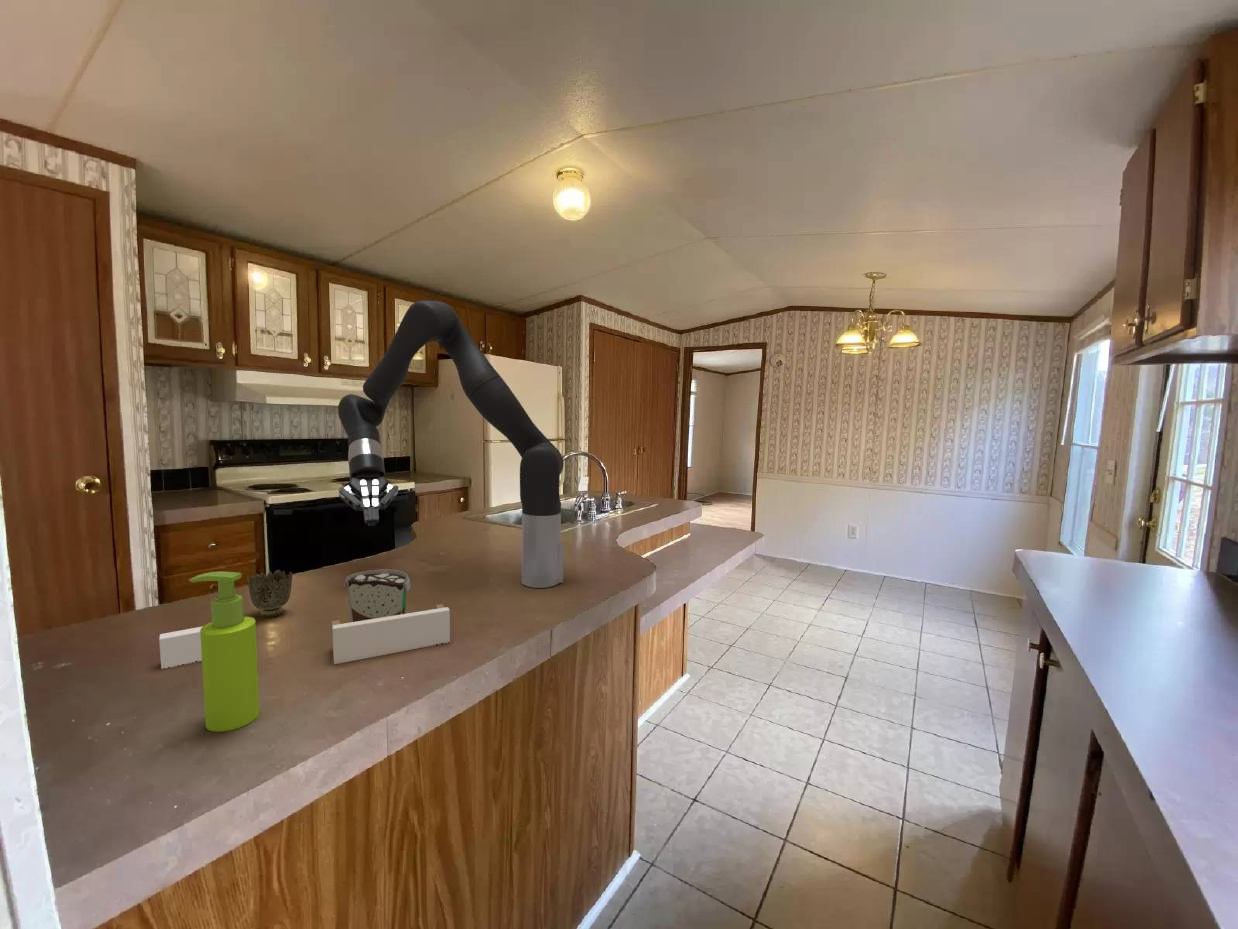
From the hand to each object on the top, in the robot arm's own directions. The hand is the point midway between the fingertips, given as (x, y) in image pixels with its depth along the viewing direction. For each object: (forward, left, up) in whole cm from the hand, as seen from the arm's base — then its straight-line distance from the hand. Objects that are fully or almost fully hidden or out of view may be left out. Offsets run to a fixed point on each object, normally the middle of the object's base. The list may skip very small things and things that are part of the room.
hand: (372, 523), depth 118 cm
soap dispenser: (+22, +43, -16) cm, 51 cm away
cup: (+19, +5, -16) cm, 25 cm away
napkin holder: (+27, +22, -16) cm, 38 cm away
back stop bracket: (0, +29, -16) cm, 33 cm away
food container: (0, +19, -16) cm, 25 cm away
